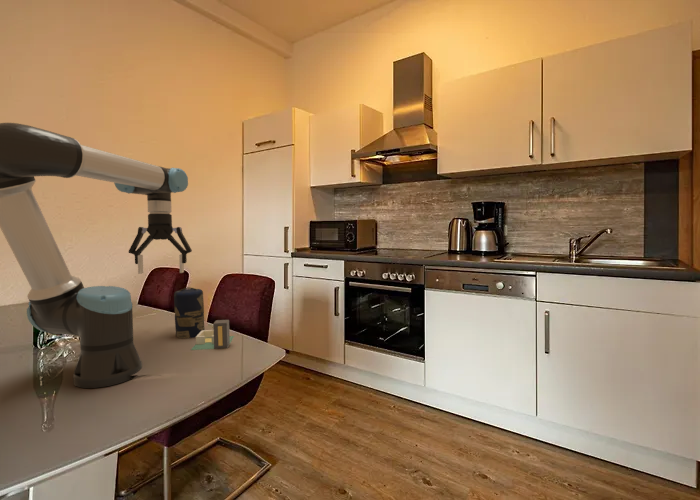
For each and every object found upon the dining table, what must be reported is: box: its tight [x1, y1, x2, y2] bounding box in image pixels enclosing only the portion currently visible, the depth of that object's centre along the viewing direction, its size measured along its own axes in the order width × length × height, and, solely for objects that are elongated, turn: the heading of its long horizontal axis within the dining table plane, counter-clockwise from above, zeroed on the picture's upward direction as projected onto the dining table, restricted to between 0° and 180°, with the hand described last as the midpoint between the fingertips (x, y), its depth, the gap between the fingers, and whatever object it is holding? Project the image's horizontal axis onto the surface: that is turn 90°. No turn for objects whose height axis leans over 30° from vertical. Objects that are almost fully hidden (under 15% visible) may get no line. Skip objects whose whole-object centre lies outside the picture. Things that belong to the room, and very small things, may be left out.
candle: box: [173, 286, 206, 339], centre depth 130 cm, size 10×10×18 cm
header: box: [195, 329, 214, 345], centre depth 123 cm, size 8×8×2 cm
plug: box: [212, 319, 231, 350], centre depth 116 cm, size 4×4×8 cm
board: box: [190, 335, 235, 351], centre depth 121 cm, size 13×11×1 cm
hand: (161, 273), depth 131 cm, fingers open, 13 cm apart
